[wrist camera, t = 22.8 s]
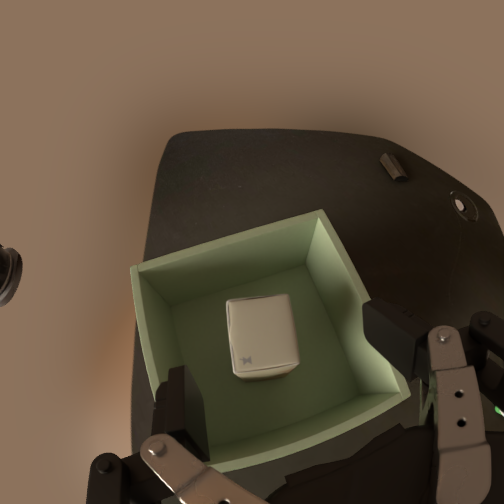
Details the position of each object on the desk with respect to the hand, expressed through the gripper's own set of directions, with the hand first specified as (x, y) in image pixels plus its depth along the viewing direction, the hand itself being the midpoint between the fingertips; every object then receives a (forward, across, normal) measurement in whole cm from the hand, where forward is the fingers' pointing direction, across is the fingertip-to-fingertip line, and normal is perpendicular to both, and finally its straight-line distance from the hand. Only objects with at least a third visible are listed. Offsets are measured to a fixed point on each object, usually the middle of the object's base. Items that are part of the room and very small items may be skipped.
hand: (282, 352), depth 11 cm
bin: (+14, 0, +10) cm, 17 cm away
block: (+27, -30, -3) cm, 41 cm away
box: (+13, 0, +10) cm, 17 cm away
